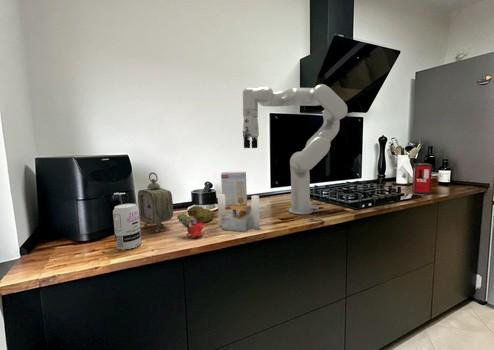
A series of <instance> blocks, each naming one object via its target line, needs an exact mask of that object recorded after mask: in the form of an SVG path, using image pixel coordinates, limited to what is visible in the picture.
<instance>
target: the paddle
mask: <svg viewBox="0 0 494 350" xmlns="http://www.w3.org/2000/svg"><path fill="white" fill-rule="evenodd" d="M247 206H248V205H247ZM247 206H231V208H230V210H233V209H234V210H247ZM251 209H252V206H250V210H251Z"/></svg>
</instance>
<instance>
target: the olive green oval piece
mask: <svg viewBox="0 0 494 350" xmlns="http://www.w3.org/2000/svg"><path fill="white" fill-rule="evenodd" d="M189 215H190V216H194V218H195V219H197V222H198V223H199V222H200V223H201V222H202V221H203V223H207V222H209V221H211V220H213V218H214V211H212V210H210V209H207V208H203V207H202V206H200V205H199V206H197V205H194V206H191V207H190V208H188V210H187V216H189Z"/></svg>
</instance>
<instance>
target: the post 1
mask: <svg viewBox="0 0 494 350" xmlns="http://www.w3.org/2000/svg"><path fill="white" fill-rule="evenodd" d="M217 211H218V214H217V216H218V226H219V227H222V218H223V217H224V216H226V215H227V214H226V208H225V194H222V193H219V194H217Z"/></svg>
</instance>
